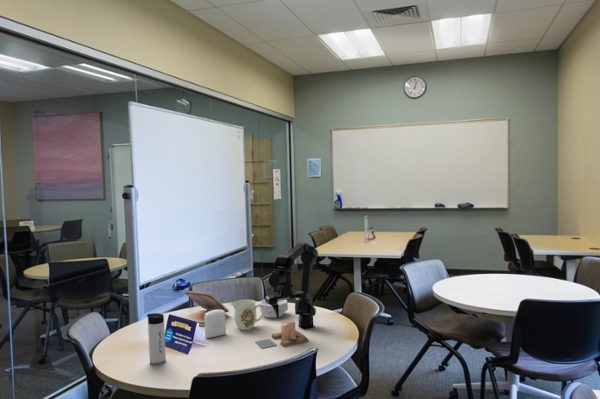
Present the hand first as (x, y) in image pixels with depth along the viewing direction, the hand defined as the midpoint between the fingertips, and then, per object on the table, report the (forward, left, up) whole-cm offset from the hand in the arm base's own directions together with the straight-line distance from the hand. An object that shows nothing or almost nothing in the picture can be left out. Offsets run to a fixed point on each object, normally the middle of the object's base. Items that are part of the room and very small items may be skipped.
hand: (287, 316), depth 197 cm
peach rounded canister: (0, +2, -11) cm, 11 cm away
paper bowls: (-8, -38, -11) cm, 40 cm away
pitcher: (+11, -26, -11) cm, 30 cm away
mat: (+11, 0, -11) cm, 15 cm away
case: (+27, -53, -11) cm, 60 cm away
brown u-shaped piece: (0, 0, -11) cm, 11 cm away
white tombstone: (+28, -23, -11) cm, 38 cm away
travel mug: (+57, -4, -11) cm, 58 cm away
